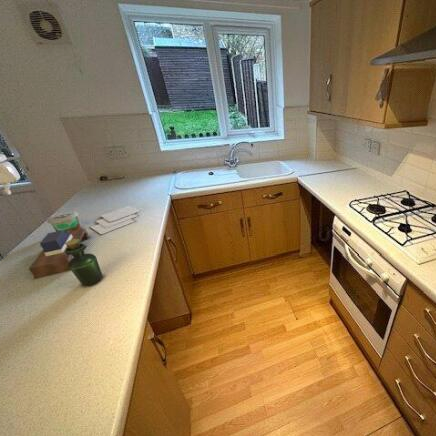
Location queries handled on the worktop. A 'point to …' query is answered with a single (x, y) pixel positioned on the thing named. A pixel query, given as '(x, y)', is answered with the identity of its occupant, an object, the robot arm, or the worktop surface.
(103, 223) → the paper stack
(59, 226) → the food container
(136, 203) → the worktop surface
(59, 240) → the navy stepped box
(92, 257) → the potion bottle
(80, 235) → the wooden serving board
